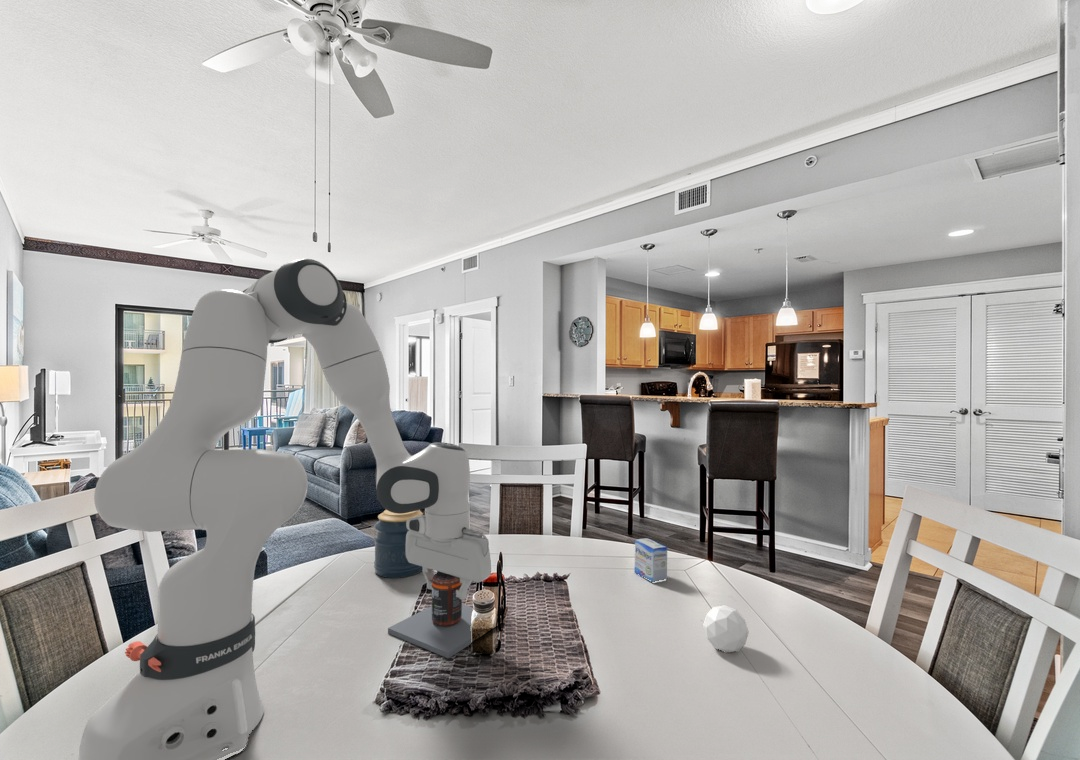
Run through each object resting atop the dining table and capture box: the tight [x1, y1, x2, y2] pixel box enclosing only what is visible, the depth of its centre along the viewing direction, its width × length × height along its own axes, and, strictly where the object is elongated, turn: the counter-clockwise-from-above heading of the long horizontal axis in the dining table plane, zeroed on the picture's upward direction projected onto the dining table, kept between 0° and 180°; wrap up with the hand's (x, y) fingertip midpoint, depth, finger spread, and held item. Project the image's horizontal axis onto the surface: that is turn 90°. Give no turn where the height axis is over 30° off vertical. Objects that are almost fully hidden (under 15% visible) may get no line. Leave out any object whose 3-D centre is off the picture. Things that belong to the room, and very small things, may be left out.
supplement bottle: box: [431, 571, 463, 626], centre depth 101 cm, size 6×6×11 cm
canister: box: [373, 509, 424, 579], centre depth 131 cm, size 13×13×18 cm
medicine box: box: [633, 538, 668, 582], centre depth 127 cm, size 8×4×9 cm, turn 25°
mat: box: [387, 603, 472, 659], centre depth 100 cm, size 16×16×1 cm
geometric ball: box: [702, 604, 749, 653], centre depth 93 cm, size 8×8×8 cm
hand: (446, 593), depth 100 cm, fingers open, 6 cm apart
